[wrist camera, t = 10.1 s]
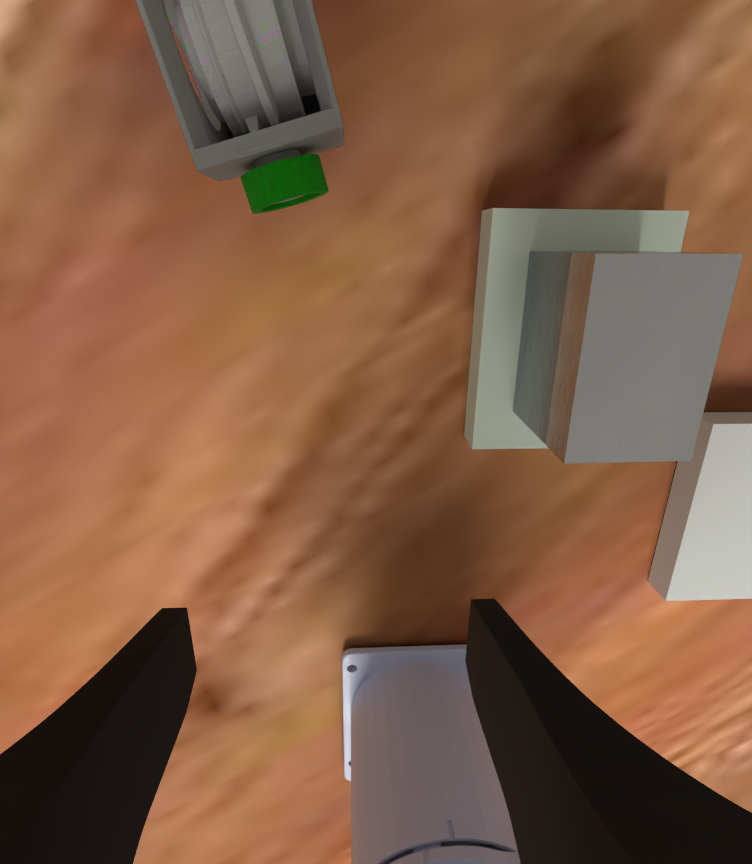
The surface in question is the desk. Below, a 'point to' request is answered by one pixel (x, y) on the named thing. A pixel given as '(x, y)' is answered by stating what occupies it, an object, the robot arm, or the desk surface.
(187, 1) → the mechanical component
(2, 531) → the desk surface
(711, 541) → the stand
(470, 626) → the robot arm
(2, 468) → the desk surface
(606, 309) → the block
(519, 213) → the stand
